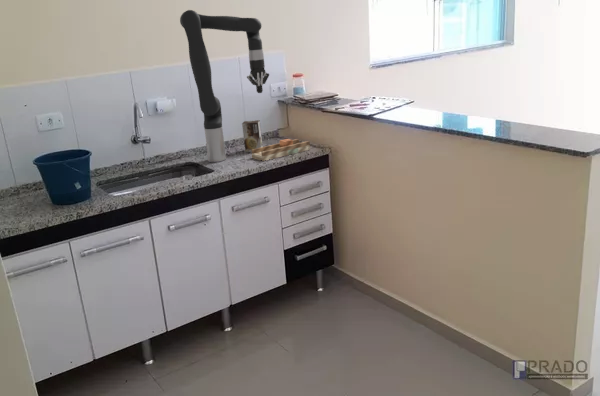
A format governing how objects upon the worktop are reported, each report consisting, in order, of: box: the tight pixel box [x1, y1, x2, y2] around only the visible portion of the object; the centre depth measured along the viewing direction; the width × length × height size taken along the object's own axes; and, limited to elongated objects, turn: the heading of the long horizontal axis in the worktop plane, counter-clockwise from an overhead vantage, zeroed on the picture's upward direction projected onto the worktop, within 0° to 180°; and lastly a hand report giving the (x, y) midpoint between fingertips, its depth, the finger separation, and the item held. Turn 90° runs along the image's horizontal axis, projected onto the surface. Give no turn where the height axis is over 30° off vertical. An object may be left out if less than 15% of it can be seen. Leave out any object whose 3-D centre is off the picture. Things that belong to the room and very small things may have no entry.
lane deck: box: [251, 138, 311, 162], centre depth 291 cm, size 30×11×4 cm, turn 127°
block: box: [279, 138, 294, 148], centre depth 292 cm, size 5×5×4 cm
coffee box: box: [241, 119, 264, 153], centre depth 302 cm, size 9×6×16 cm
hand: (259, 92), depth 288 cm, fingers closed
